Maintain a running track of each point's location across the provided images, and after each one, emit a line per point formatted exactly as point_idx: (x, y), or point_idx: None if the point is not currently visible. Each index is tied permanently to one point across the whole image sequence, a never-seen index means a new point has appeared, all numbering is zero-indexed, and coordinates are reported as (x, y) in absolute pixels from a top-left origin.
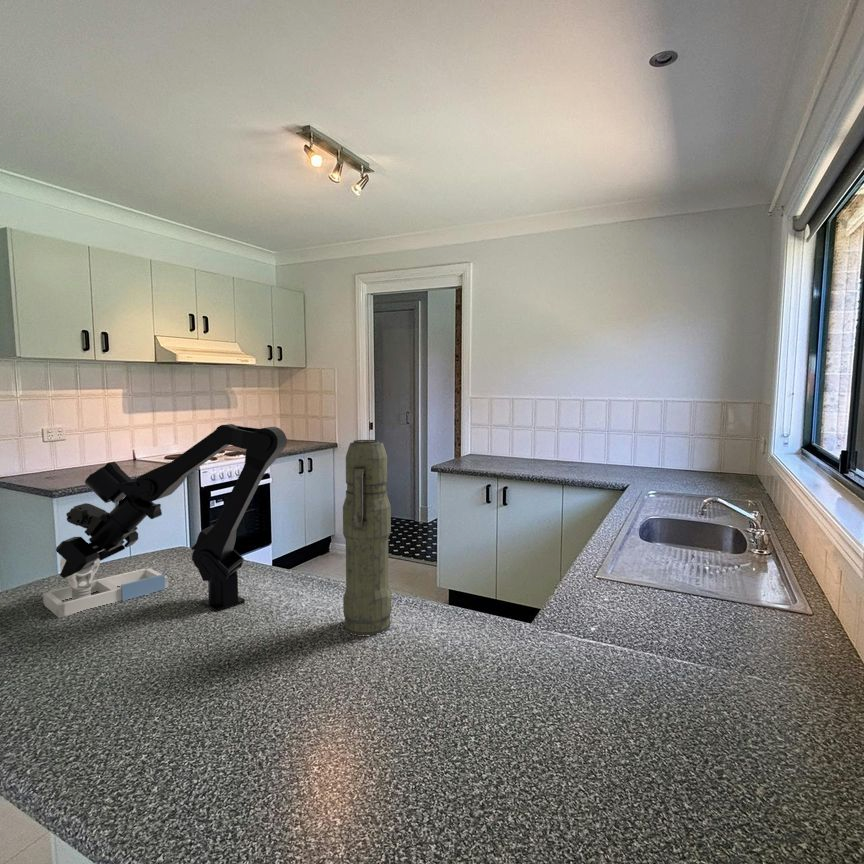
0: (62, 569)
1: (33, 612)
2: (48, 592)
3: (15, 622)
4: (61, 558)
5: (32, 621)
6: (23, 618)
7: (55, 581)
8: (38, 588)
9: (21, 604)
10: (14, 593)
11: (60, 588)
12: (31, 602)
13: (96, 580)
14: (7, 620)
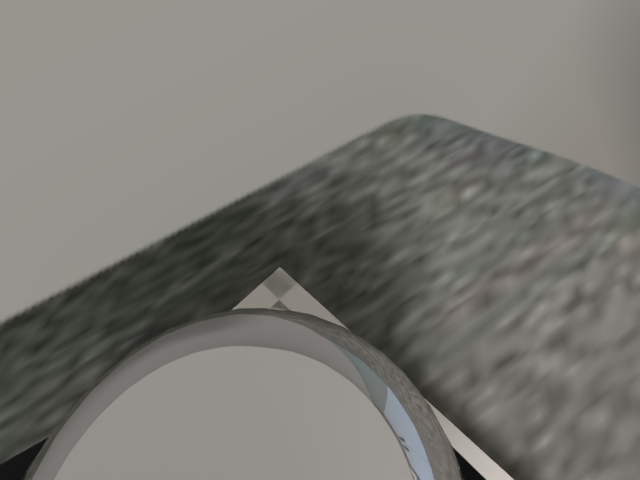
0: (35, 445)
1: (188, 307)
2: (273, 295)
3: (84, 303)
4: (163, 332)
5: (69, 371)
6: (124, 308)
7: (531, 188)
8: (452, 175)
9: (289, 212)
10: (398, 134)
11: (331, 320)
12: (307, 233)
13: (473, 466)
14: (120, 260)
